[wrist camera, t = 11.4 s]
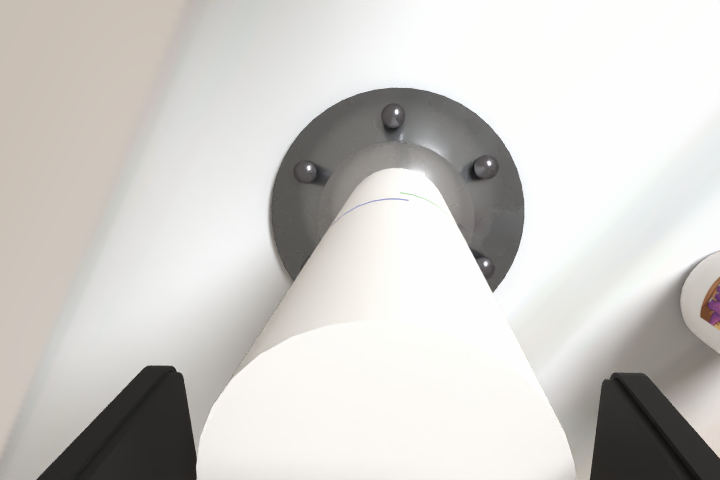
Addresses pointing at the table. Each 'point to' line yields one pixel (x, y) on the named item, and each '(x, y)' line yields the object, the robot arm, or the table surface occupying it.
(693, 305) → the milk bottle
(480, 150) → the flange
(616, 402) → the robot arm
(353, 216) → the cylindrical container
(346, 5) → the table surface
